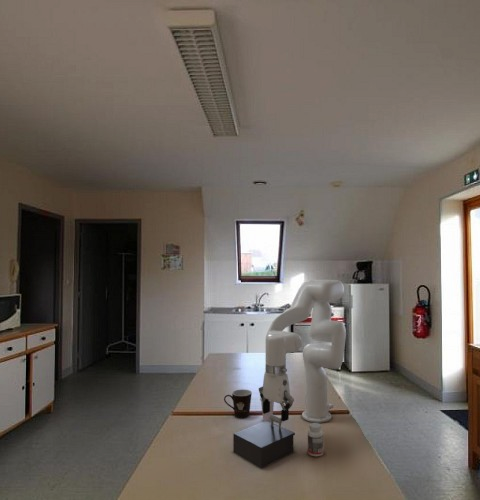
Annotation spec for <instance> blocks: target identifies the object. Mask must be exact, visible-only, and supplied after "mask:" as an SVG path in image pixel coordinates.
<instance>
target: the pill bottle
mask: <svg viewBox="0 0 480 500" xmlns="http://www.w3.org/2000/svg"><path fill="white" fill-rule="evenodd" d="M307 453H308V454H309V455H310V456H312V457H321V456H323V454H324V432H323V431H322V425H321V423H315V422H310V424H309V430H308V431H307Z"/></svg>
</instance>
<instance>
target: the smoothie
mask: <svg viewBox="0 0 480 500" xmlns="http://www.w3.org/2000/svg"><path fill="white" fill-rule="evenodd" d="M259 400H260V405H261V406H260V407H261V413H262V420H263V421H262V422H264V421H269V422H271V419H270V415H274V414H273V413H274V407H275V402H274V401H271V400H268V401H270V412H268V413H265V414H263V402H262V401H261V400H262V399H261V397H260V396H259Z"/></svg>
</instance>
